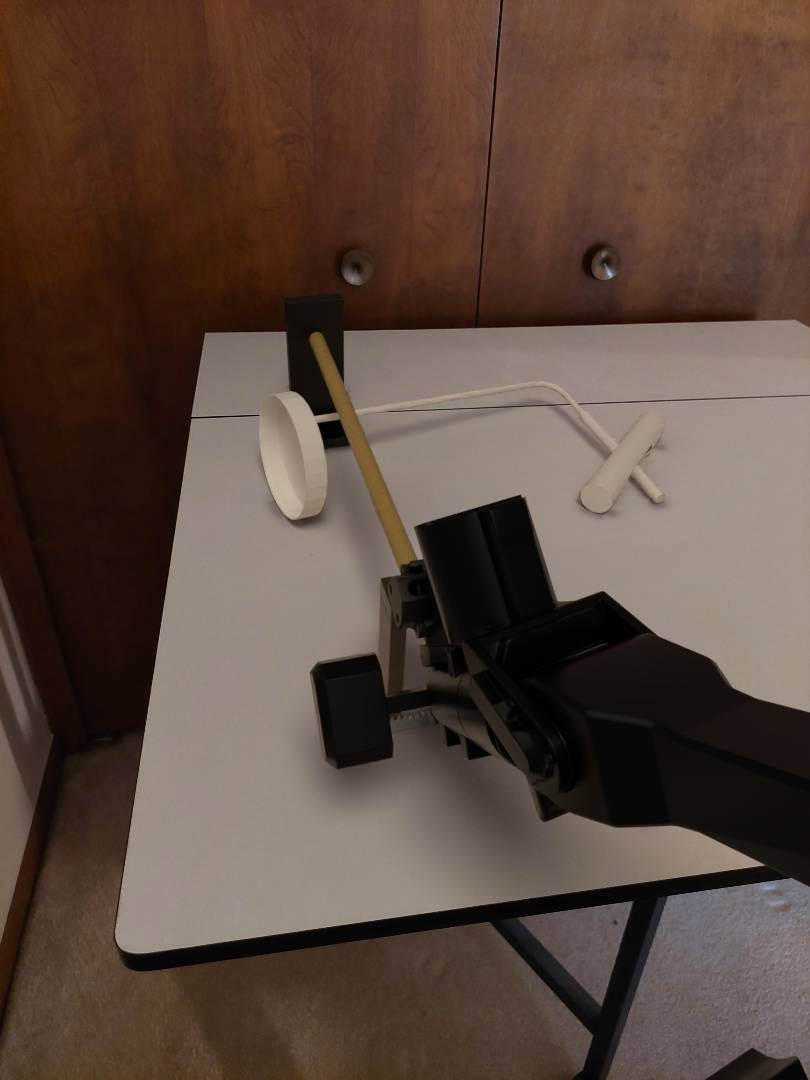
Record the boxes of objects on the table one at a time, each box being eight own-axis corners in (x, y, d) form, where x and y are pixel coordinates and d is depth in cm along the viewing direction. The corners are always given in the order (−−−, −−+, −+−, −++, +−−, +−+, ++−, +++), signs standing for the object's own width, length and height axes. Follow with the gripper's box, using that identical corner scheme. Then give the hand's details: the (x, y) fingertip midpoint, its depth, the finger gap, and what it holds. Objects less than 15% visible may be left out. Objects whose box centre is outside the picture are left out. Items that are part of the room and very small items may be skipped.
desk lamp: (359, 531, 65) (742, 441, 84) (262, 368, 77) (616, 322, 97) (339, 623, 74) (690, 522, 93) (255, 463, 86) (580, 404, 106)
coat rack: (476, 734, 63) (502, 587, 52) (377, 755, 61) (384, 608, 50) (344, 407, 97) (343, 279, 87) (278, 414, 96) (269, 284, 85)
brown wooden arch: (460, 710, 63) (476, 593, 54) (386, 725, 62) (391, 608, 53) (448, 680, 65) (462, 564, 56) (376, 695, 64) (380, 577, 55)
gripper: (640, 524, 45) (534, 545, 60) (309, 577, 40) (285, 584, 56) (675, 723, 44) (559, 693, 59) (344, 798, 40) (310, 744, 55)
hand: (433, 675), depth 57 cm, fingers open, 9 cm apart
